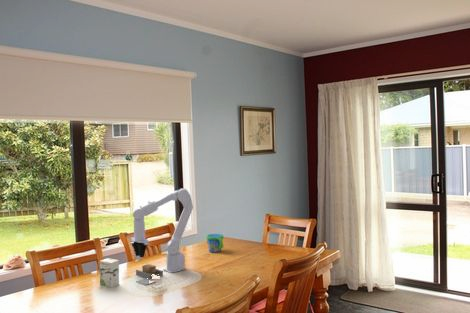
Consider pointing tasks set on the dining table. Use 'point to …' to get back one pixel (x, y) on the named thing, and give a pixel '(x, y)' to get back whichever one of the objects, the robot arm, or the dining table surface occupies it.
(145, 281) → the pad
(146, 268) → the walnut block
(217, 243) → the snack cup
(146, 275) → the channel
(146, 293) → the dining table surface
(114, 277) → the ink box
